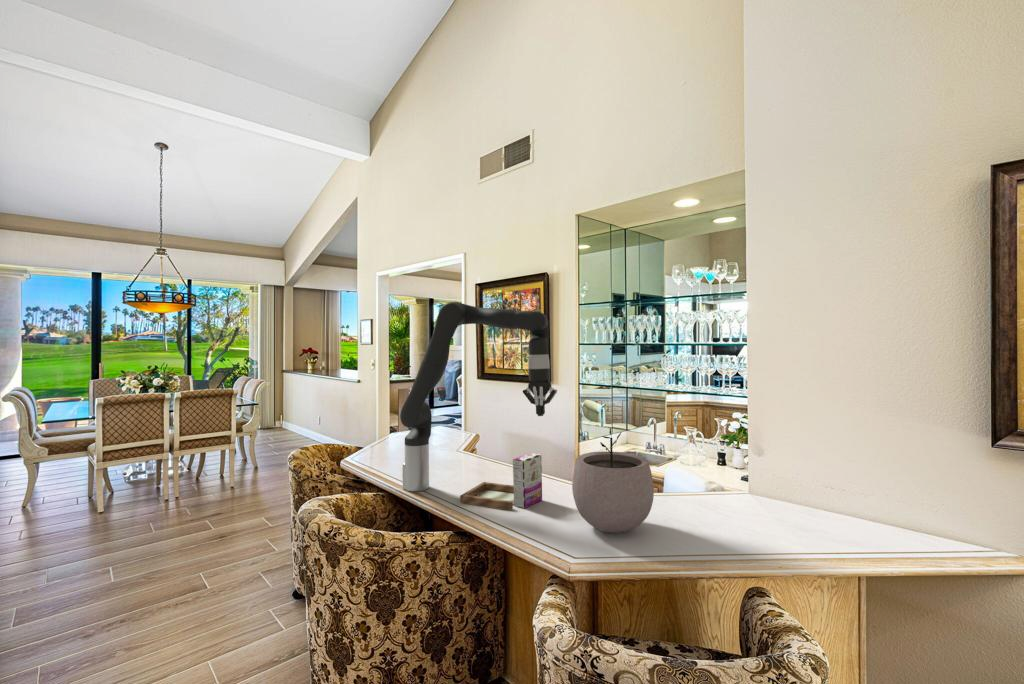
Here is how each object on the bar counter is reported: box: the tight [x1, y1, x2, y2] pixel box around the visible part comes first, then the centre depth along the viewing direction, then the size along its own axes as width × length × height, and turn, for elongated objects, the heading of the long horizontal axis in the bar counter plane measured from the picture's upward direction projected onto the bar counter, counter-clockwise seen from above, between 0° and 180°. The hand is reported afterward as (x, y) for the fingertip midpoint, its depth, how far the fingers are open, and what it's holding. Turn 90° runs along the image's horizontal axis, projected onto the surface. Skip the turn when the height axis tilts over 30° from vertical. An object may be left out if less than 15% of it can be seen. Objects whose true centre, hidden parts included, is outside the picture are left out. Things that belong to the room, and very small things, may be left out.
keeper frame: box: [459, 481, 514, 511], centre depth 169 cm, size 20×18×2 cm
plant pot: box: [571, 427, 655, 534], centre depth 141 cm, size 24×24×30 cm
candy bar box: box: [512, 452, 543, 509], centre depth 164 cm, size 11×5×16 cm, turn 143°
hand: (540, 415), depth 168 cm, fingers closed
